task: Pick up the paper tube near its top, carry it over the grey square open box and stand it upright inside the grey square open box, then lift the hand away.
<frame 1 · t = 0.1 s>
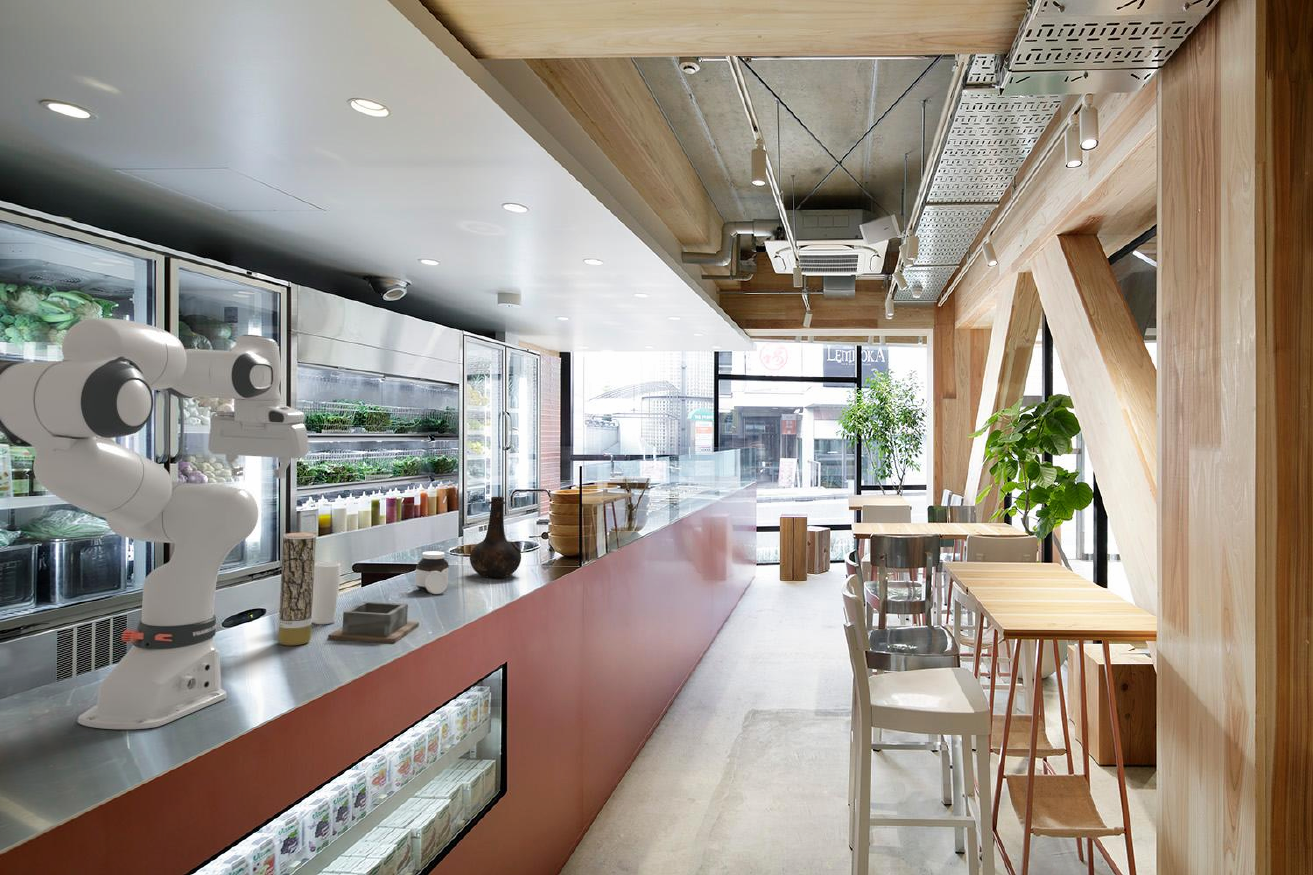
hand: (258, 476, 156), 39 cm above the worktop, tool pointing down, fingers open, 8 cm apart
paper tube: (294, 643, 169), on the worktop
drinking glass: (323, 623, 187), on the worktop
grey square open box: (375, 632, 180), on the worktop
dark brown vase: (494, 576, 258), on the worktop
spread jar: (433, 591, 229), on the worktop
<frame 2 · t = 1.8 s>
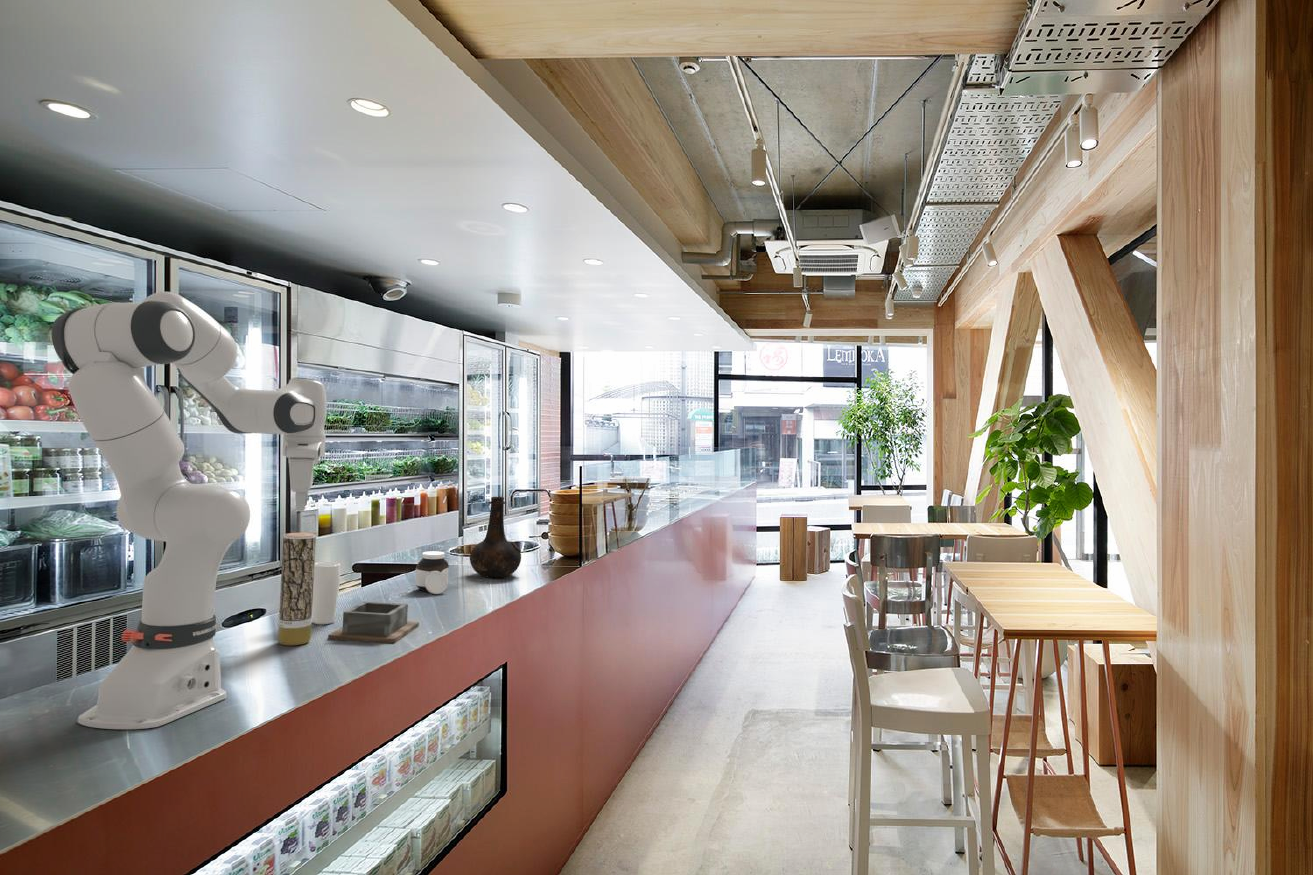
hand: (301, 508, 169), 31 cm above the worktop, tool pointing down, fingers open, 8 cm apart
nothing on the worktop moved.
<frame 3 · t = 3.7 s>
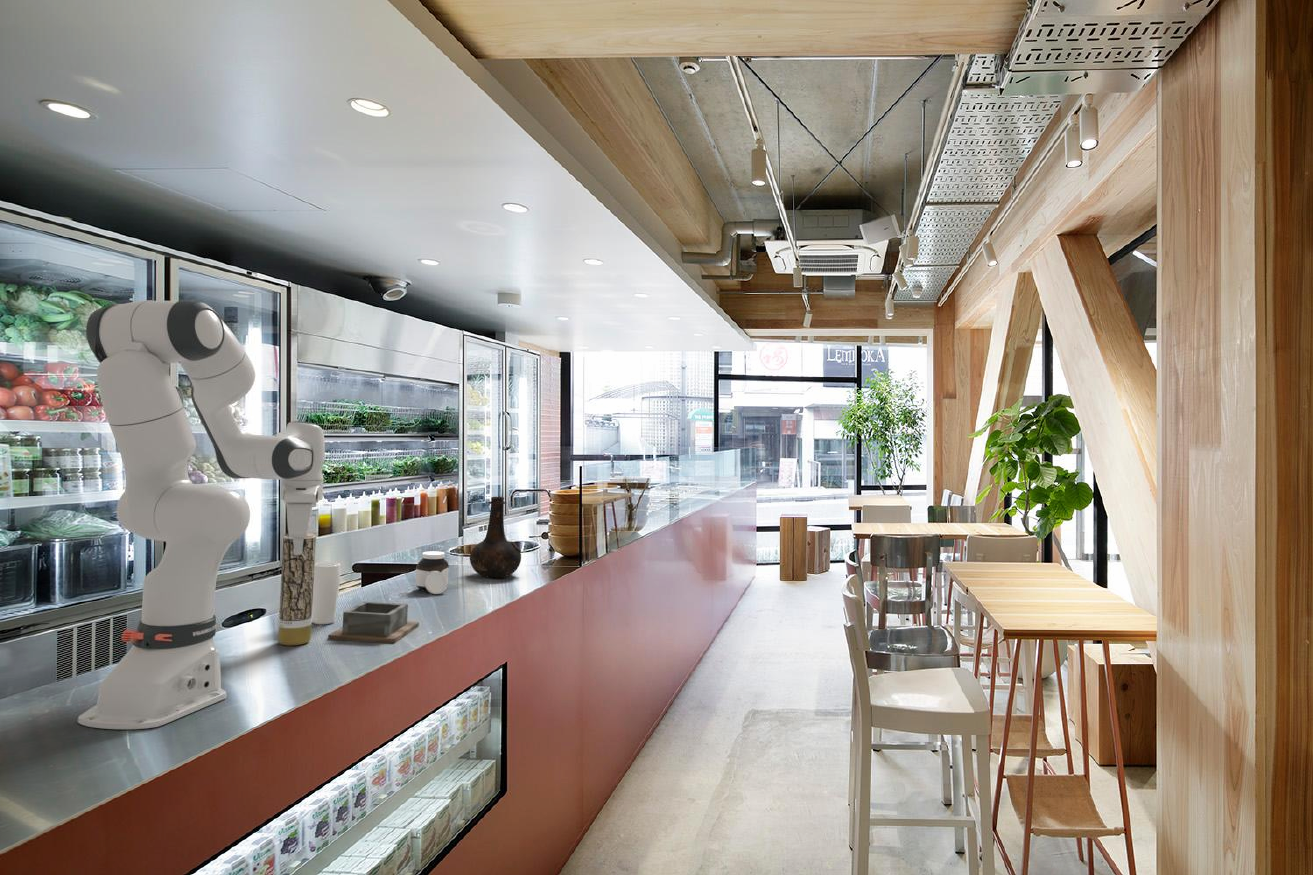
hand: (298, 551, 169), 21 cm above the worktop, tool pointing down, fingers closed on paper tube, 7 cm apart
paper tube: (294, 643, 169), on the worktop, touching gripper
everything else where it was.
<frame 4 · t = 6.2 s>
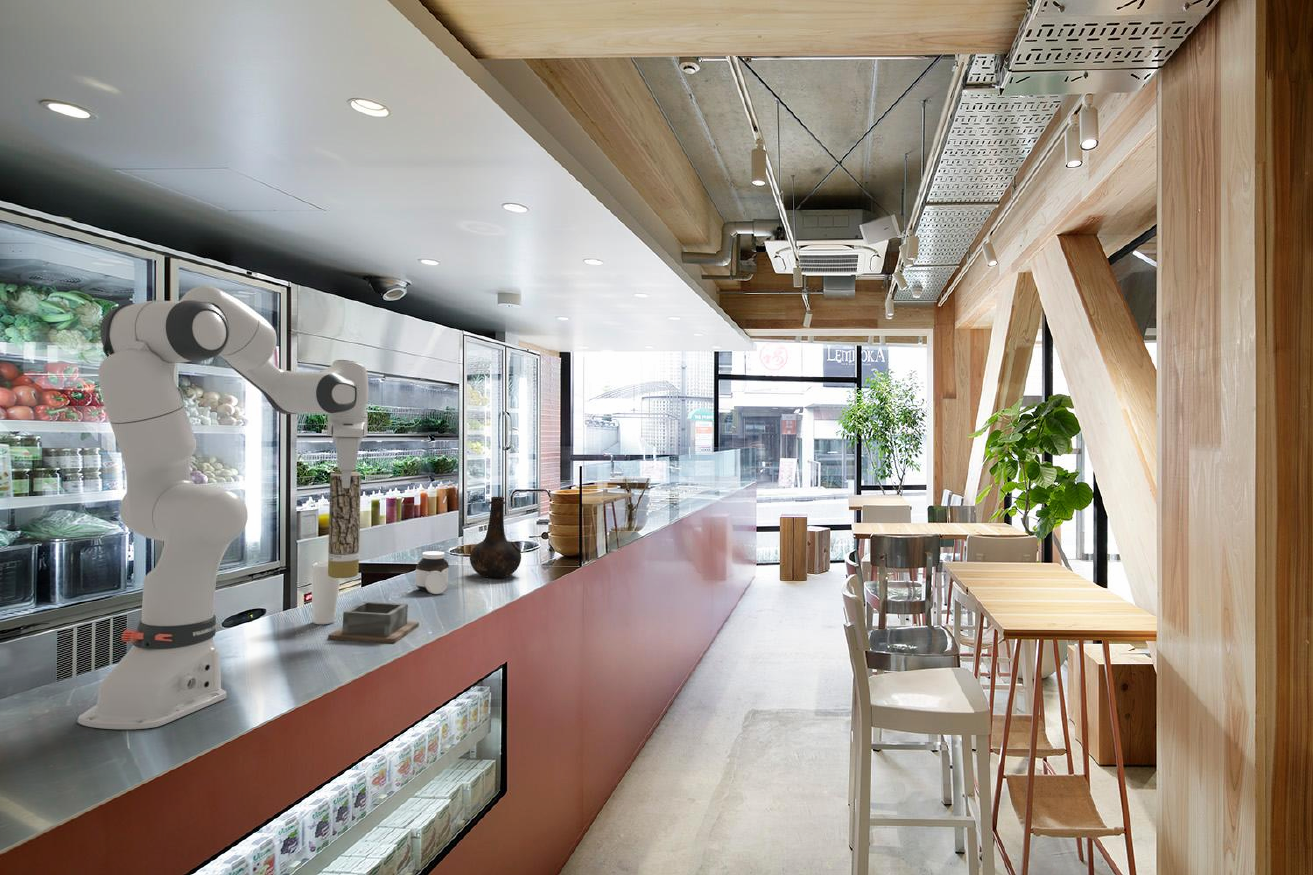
hand: (345, 486, 175), 36 cm above the worktop, tool pointing down, fingers closed on paper tube, 7 cm apart
paper tube: (343, 576, 176), point 14 cm above the worktop, touching gripper
everything else where it was.
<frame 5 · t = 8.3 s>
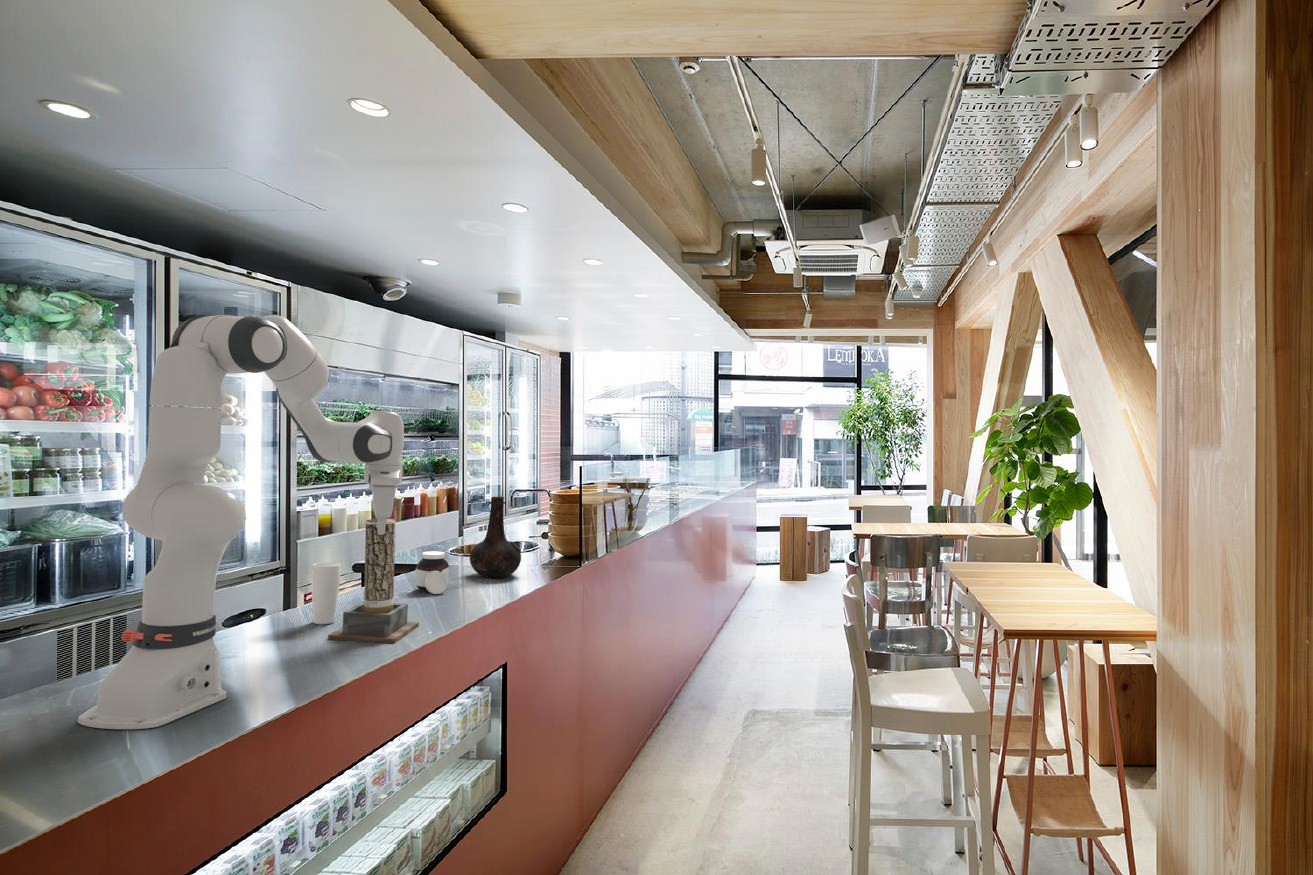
hand: (380, 531, 180), 25 cm above the worktop, tool pointing down, fingers closed on paper tube, 7 cm apart
paper tube: (378, 621, 181), point 3 cm above the worktop, touching gripper
everything else where it was.
when the fingers open (23 cm above the worktop, at t = 9.1 s): paper tube stays where it is, resting on grey square open box.
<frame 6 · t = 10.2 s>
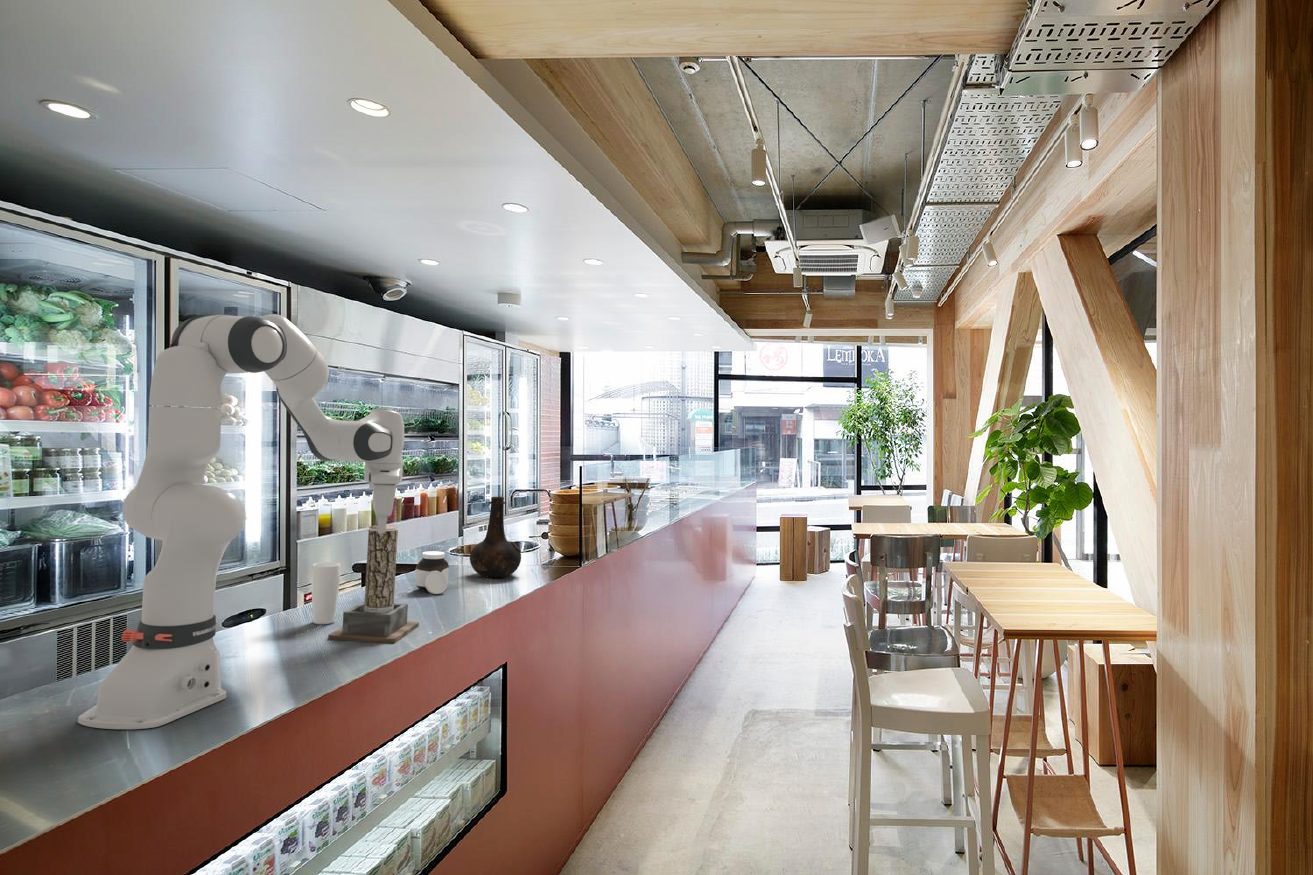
hand: (380, 530, 180), 25 cm above the worktop, tool pointing down, fingers open, 8 cm apart
paper tube: (377, 628, 180), point 1 cm above the worktop, touching grey square open box
everything else where it was.
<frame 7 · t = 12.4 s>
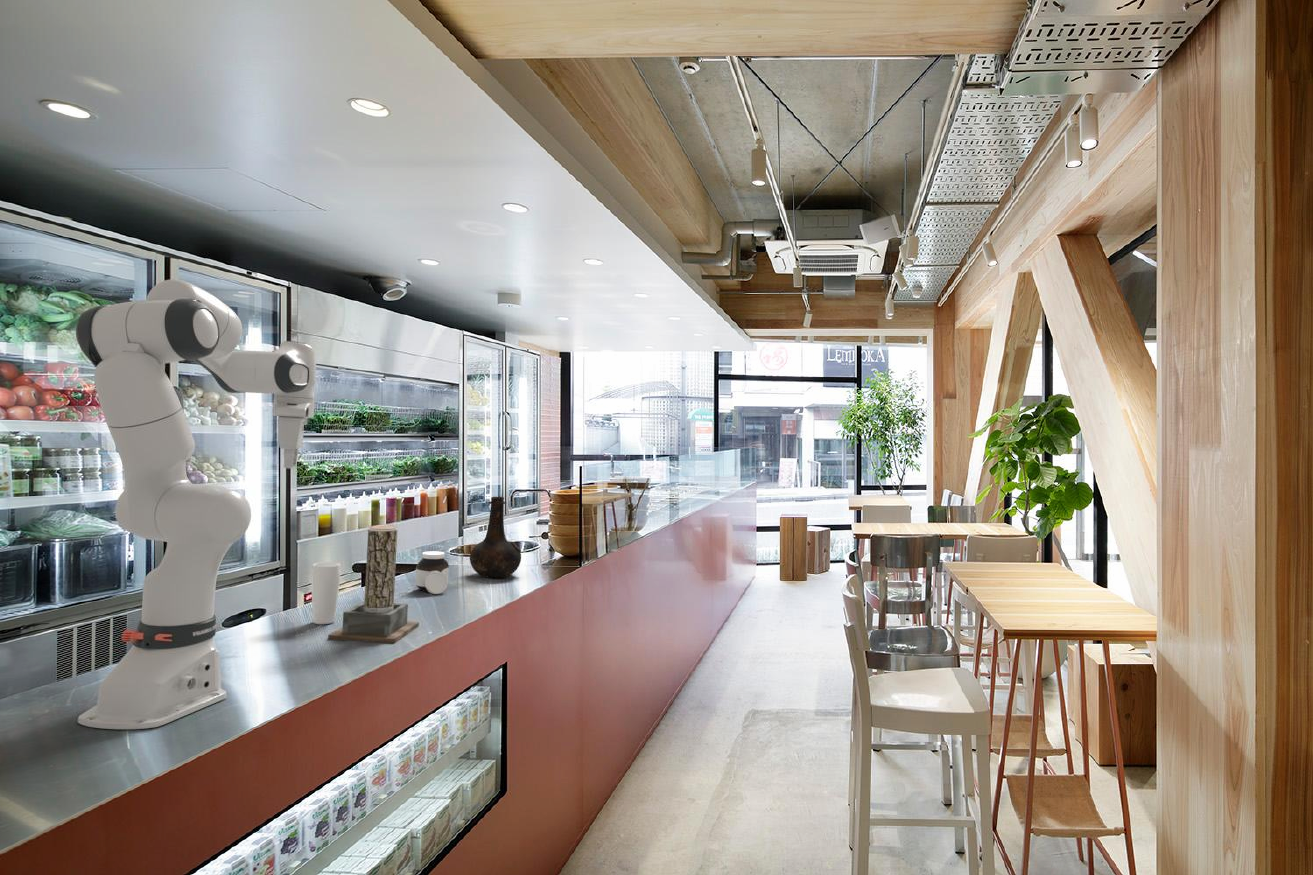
hand: (290, 467, 175), 40 cm above the worktop, tool pointing down, fingers open, 8 cm apart
nothing on the worktop moved.
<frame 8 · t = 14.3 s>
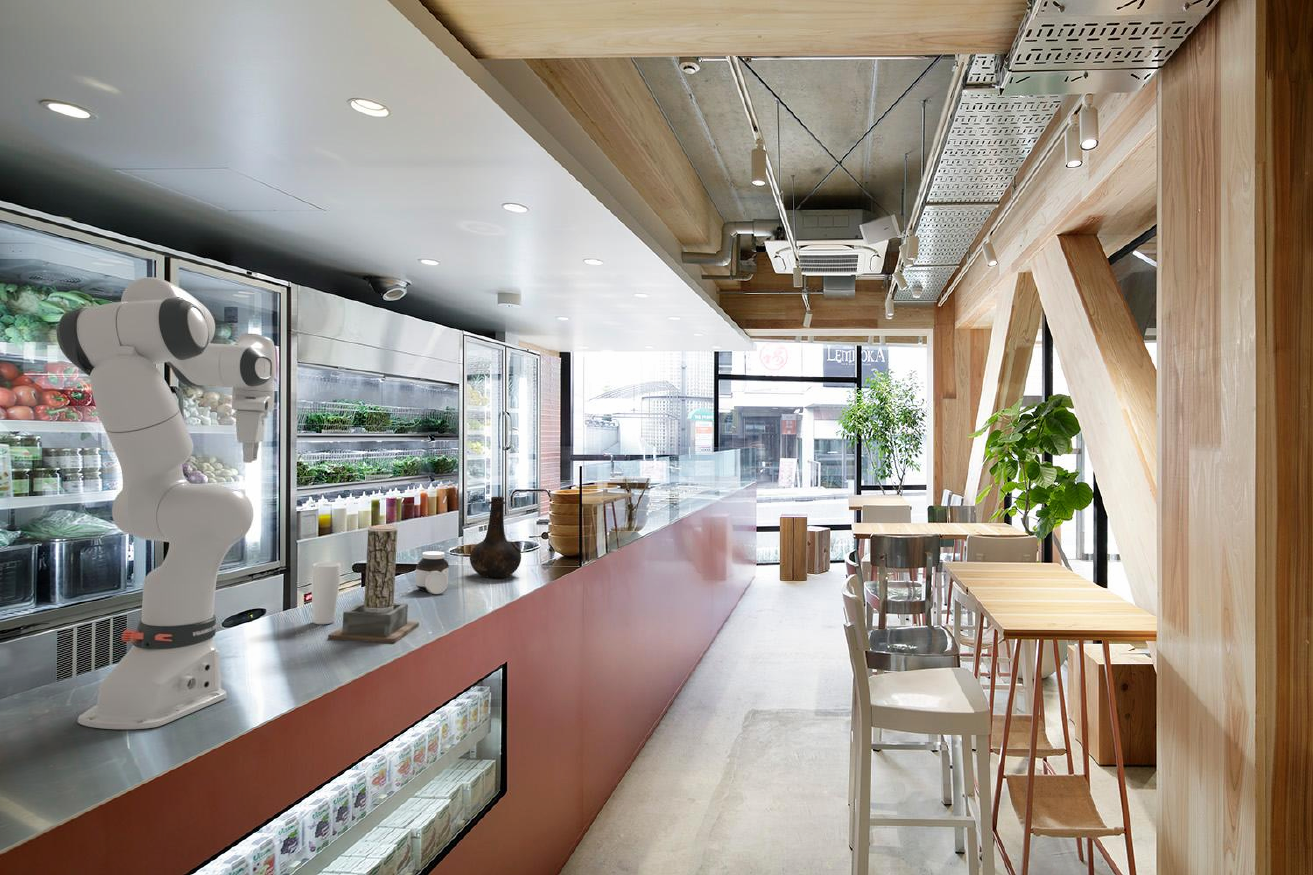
hand: (250, 461, 173), 41 cm above the worktop, tool pointing down, fingers open, 8 cm apart
nothing on the worktop moved.
at the end: paper tube 0.5 cm off-centre on the grey square open box, point 0.8 cm above the grey square open box's base; paper tube tilted 0°; the gripper is holding nothing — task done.
